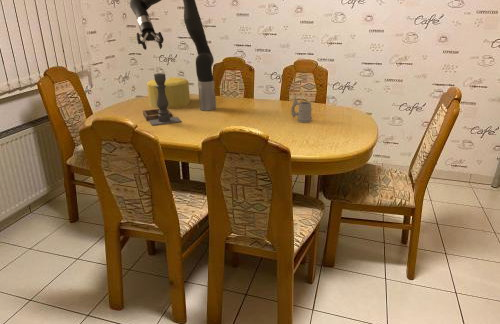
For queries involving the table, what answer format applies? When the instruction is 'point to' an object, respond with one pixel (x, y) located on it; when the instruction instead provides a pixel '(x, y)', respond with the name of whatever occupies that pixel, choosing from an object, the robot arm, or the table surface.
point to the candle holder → (162, 98)
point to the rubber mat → (172, 120)
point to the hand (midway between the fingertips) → (153, 48)
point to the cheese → (170, 92)
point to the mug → (302, 111)
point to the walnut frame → (153, 111)
